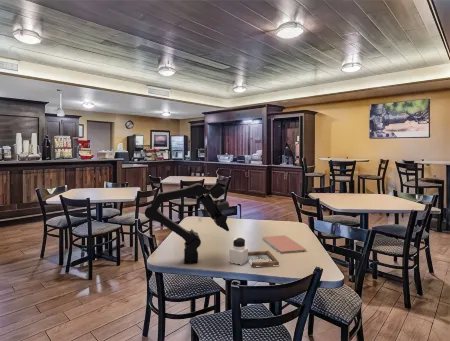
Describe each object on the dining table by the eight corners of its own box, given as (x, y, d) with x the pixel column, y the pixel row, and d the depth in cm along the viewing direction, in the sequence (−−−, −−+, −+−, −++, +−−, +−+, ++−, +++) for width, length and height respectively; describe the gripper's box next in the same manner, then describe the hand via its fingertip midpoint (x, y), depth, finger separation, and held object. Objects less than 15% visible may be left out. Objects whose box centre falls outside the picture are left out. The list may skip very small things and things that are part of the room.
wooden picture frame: (252, 267, 142) (252, 263, 142) (244, 255, 157) (244, 251, 157) (278, 266, 144) (278, 262, 144) (268, 254, 160) (268, 250, 160)
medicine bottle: (247, 261, 150) (248, 238, 149) (241, 265, 144) (242, 241, 143) (235, 258, 154) (236, 235, 153) (228, 262, 147) (229, 239, 146)
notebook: (260, 239, 187) (260, 236, 187) (285, 237, 191) (285, 234, 191) (279, 254, 161) (279, 251, 161) (306, 252, 165) (306, 249, 165)
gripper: (226, 198, 140) (244, 223, 143) (218, 192, 158) (233, 214, 161) (207, 212, 138) (225, 237, 142) (201, 204, 157) (217, 226, 160)
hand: (226, 228), depth 151 cm, fingers open, 9 cm apart
